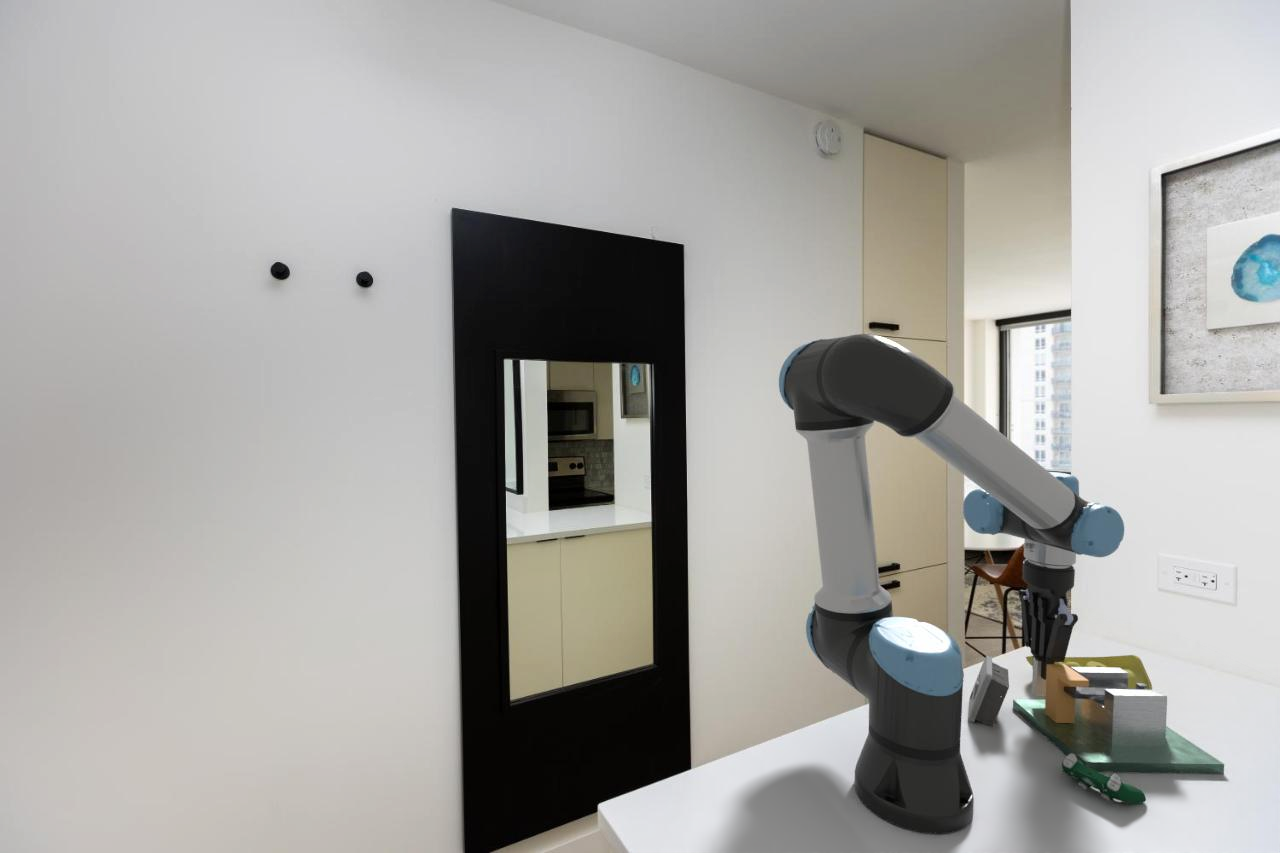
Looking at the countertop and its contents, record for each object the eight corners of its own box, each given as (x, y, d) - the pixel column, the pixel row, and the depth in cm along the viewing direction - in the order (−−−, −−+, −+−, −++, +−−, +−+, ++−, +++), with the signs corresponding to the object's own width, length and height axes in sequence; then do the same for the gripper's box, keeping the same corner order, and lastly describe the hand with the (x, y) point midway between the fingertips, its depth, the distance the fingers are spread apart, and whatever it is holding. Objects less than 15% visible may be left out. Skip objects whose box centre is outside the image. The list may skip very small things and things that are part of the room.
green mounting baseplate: (1085, 771, 93) (1087, 709, 92) (1012, 707, 112) (1014, 655, 111) (1223, 773, 92) (1226, 711, 92) (1127, 708, 111) (1129, 656, 111)
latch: (1068, 732, 101) (1069, 680, 100) (1045, 713, 107) (1046, 664, 106) (1087, 732, 101) (1089, 680, 100) (1062, 713, 107) (1064, 664, 106)
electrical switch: (969, 700, 115) (976, 651, 114) (1001, 709, 112) (1008, 660, 111) (967, 723, 107) (974, 671, 106) (1002, 734, 104) (1010, 681, 103)
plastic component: (1099, 657, 128) (1144, 654, 119) (1110, 696, 125) (1157, 696, 116) (1014, 657, 124) (1054, 654, 115) (1023, 697, 121) (1065, 698, 112)
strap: (1074, 699, 101) (1074, 693, 101) (1063, 691, 103) (1064, 685, 103) (1160, 702, 100) (1160, 695, 100) (1147, 694, 103) (1148, 688, 103)
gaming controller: (1066, 784, 93) (1050, 764, 91) (1077, 761, 94) (1061, 741, 92) (1138, 822, 85) (1123, 801, 83) (1149, 796, 86) (1134, 775, 84)
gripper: (1005, 551, 114) (999, 676, 116) (1049, 573, 102) (1042, 713, 104) (1047, 551, 114) (1040, 676, 116) (1096, 574, 101) (1088, 713, 103)
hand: (1041, 693), depth 110 cm, fingers closed
